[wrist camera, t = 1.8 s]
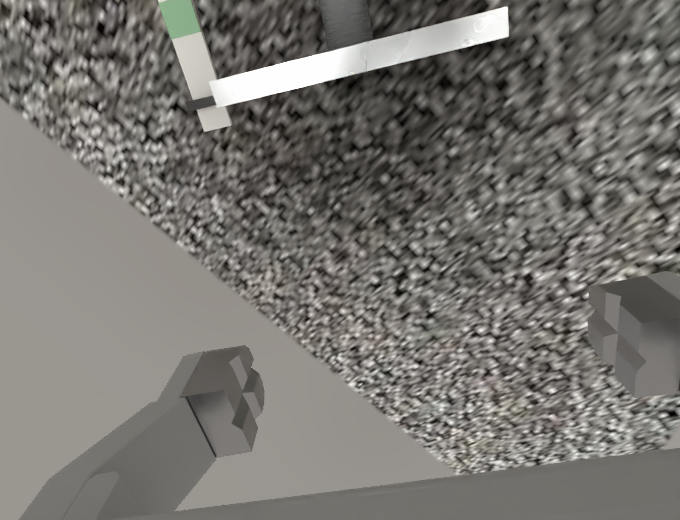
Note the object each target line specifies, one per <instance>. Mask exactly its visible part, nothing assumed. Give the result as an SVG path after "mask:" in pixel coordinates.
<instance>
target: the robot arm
mask: <svg viewBox="0 0 680 520" xmlns="http://www.w3.org/2000/svg"><path fill="white" fill-rule="evenodd" d="M588 303H589V304H590V305H591V306H592V307H593V308H594V309H595V311H594V313H593V314H592V315H591V316H590V318H589V319H588V334H589V338H590V341H591V345H592V346H593V348H594V350H595V352H596V354H597V355H598V356H599V357H600V358H601V360H602V361H604V362H606V363H608V364H611V365H613V366H615V376H616V377H617V378H618V380H619V381H620V382H621V383H622V384H623V385H624V387H625V388H626V389H627V390H628V391H629V392H630V393H631V395H632V396H633V397H634V398H637V397H646V396H655V395H663V394H672V393H680V277H679V276H678V275H676V274H674V273H671V272H666V271H665V272H660V273H655V274H650V275H646V276H641V277H637V278H632V279H627V280H622V281H616V282H611V283H606V284H601V285H595V286H591V289H590V292H589V302H588ZM252 362H253V356H252V354H251V352H250V350H249V348H248V347H246V346H245V345H244V346H238V347H231V348H224V349H218V350H211V351H206V352H198V353H193V354H188V355H186V356H184V357H183V358H182V360H181V362H180V363H179V365H178V367H177V368H176V370H175V372H174V373H173V375H172V377H171V379H170V380H169V382H168V383H167V385H166V387H165V389H164V390H163V392H162V394H161V395H160V397H159V399H158V400H157V402H152V403H149V404H148V405H147V406H146V407H144V408H143V409H141V410H140V411H139V412H138V413H136V414H135V415H133V416H132V417H131V418H129V419H128V420H127V421H126V422H124V423H123V424H121V425H120V426H119V427H117V428H116V429H115V430H113V431H112V432H111V433H109V434H108V435H107V436H105V437H104V438H103V439H101V440H100V441H99V442H97V443H96V444H95V445H93V446H92V447H91V448H90V449H88V450H87V451H86V452H84V453H83V454H82V455H80V456H79V457H77V458H76V459H75V460H73V461H72V462H71V463H69V464H68V465H67V466H65V467H64V468H63V469H61V470H60V471H59V472H58V473H56V474H55V475H54V476H52V477H51V478H50V479H49V480H48V481H47V482H46V484H45V485H44V486H43V488H42V489H41V490H40V492H39V493H38V494H37V496H36V497H35V499H34V500H33V501H32V503H31V504H30V505H29V507H28V508H27V509H26V511H25V512H24V514H23V515H22V516H21V517H20V519H19V520H680V448H676V449H668V450H659V451H651V452H643V453H635V454H627V455H619V456H611V457H603V458H595V459H587V460H579V461H571V462H562V463H554V464H546V465H538V466H530V467H522V468H514V469H506V470H498V471H490V472H483V473H475V474H467V475H459V476H451V477H444V478H435V479H427V480H420V481H413V482H404V483H396V484H389V485H380V486H372V487H364V488H357V489H349V490H341V491H333V492H325V493H317V494H309V495H301V496H293V497H285V498H277V499H269V500H261V501H254V502H245V503H237V504H230V505H222V506H214V507H206V508H198V509H190V510H182V511H174V510H175V509H176V508H177V507H178V505H179V504H180V503H181V502H182V500H183V499H184V498H185V497H186V496H187V495H188V493H189V492H190V491H191V490H192V488H193V487H194V486H195V485H196V484H197V482H198V481H199V480H200V479H201V477H202V476H203V475H204V474H205V473H206V471H207V470H208V469H209V468H210V467H211V465H212V464H213V463H214V462H215V460H216V458H217V457H222V456H229V455H235V454H241V453H246V452H251V451H252V448H253V444H254V441H255V437H256V433H257V429H258V427H257V424H256V422H255V419H256V418H257V417H258V416H259V415H260V414H261V413H262V410H263V406H264V388H263V383H262V380H261V377H260V374H259V373H258V372H256V371H255V370H254V369H252V368H251V366H252Z"/></svg>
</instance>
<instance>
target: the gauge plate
mask: <svg viewBox="0 0 680 520" xmlns="http://www.w3.org/2000/svg"><path fill="white" fill-rule="evenodd" d="M319 5H320V9H321V14H322V19H323V24H324V28H325V33H326V38H327V43H328V48H329V52H325V53H321V54H317V55H313V56H309V57H305V58H301V59H297V60H293V61H289V62H286V63H282V64H278V65H274V66H270V67H266V68H262V69H258V70H254V71H250V72H246V73H242V74H238V75H234V76H230V77H226V78H222V79H218V80H214V81H210V82H209V84H210V87H211V90H212V93H213V95H212V96H208V97H204V98H200V99H196V100H192V101H188V102H186V105H187V108H188V110H189V112H190V111H194V110H198V109H202V108H206V107H210V106H214V105H217V108H219V107H223V106H227V105H231V104H235V103H239V102H243V101H247V100H252V99H256V98H260V97H264V96H268V95H272V94H276V93H280V92H284V91H288V90H292V89H297V88H301V87H305V86H309V85H313V84H317V83H321V82H325V81H329V80H333V79H338V78H342V77H346V76H350V75H354V74H358V73H362V72H366V71H370V70H374V69H378V68H383V67H387V66H391V65H395V64H399V63H403V62H407V61H411V60H415V59H419V58H423V57H428V56H432V55H436V54H440V53H444V52H448V51H452V50H456V49H460V48H464V47H469V46H473V45H477V44H481V43H485V42H489V41H493V40H497V39H501V38H505V37H509V28H508V6H507V7H503V8H499V9H495V10H491V11H487V12H483V13H479V14H475V15H471V16H467V17H464V18H460V19H456V20H452V21H448V22H444V23H440V24H436V25H432V26H428V27H424V28H420V29H416V30H412V31H408V32H404V33H400V34H396V35H392V36H388V37H384V38H380V39H377V40H373V35H372V29H371V23H370V17H369V11H368V5H367V0H319Z"/></svg>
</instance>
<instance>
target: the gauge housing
mask: <svg viewBox="0 0 680 520" xmlns="http://www.w3.org/2000/svg"><path fill="white" fill-rule="evenodd" d="M158 2H159V3H158V4H159V7H160V9H161V12H162V15H163V18H164V21H165V24H166V26H167V29H168V32H169V35H170V38H171V39H172V42H173V44H174V47H175V50H176V53H177V56H178V59H179V61H180V64H181V67H182V70H183V73H184V76H185V79H186V81H187V84H188V87H189V90H190V93H191V96H192V98H193V100H196V99H200V98H204V97H208V96H212V95H213V93H212V90H211V87H210V84H209V82H210V81H214V80H218V76H217V73H216V70H215V67H214V64H213V61H212V57H211V54H210V51H209V48H208V45H207V42H206V39H205V36H204V33H203V29H202V26H201V23H200V20H199V17H198V14H197V11H196V8H195V5H194V1H193V0H158ZM197 113H198V115H199V118H200V121H201V124H202V127H203V130H204V132H206V131H210V130H214V129H219V128H223V127H227V126H231V125H233V123H232V120H231V117H230V113H229V110H228V107H227V106H223V107H219V108H217V105H214V106H210V107H206V108H202V109H198V110H197Z"/></svg>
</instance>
